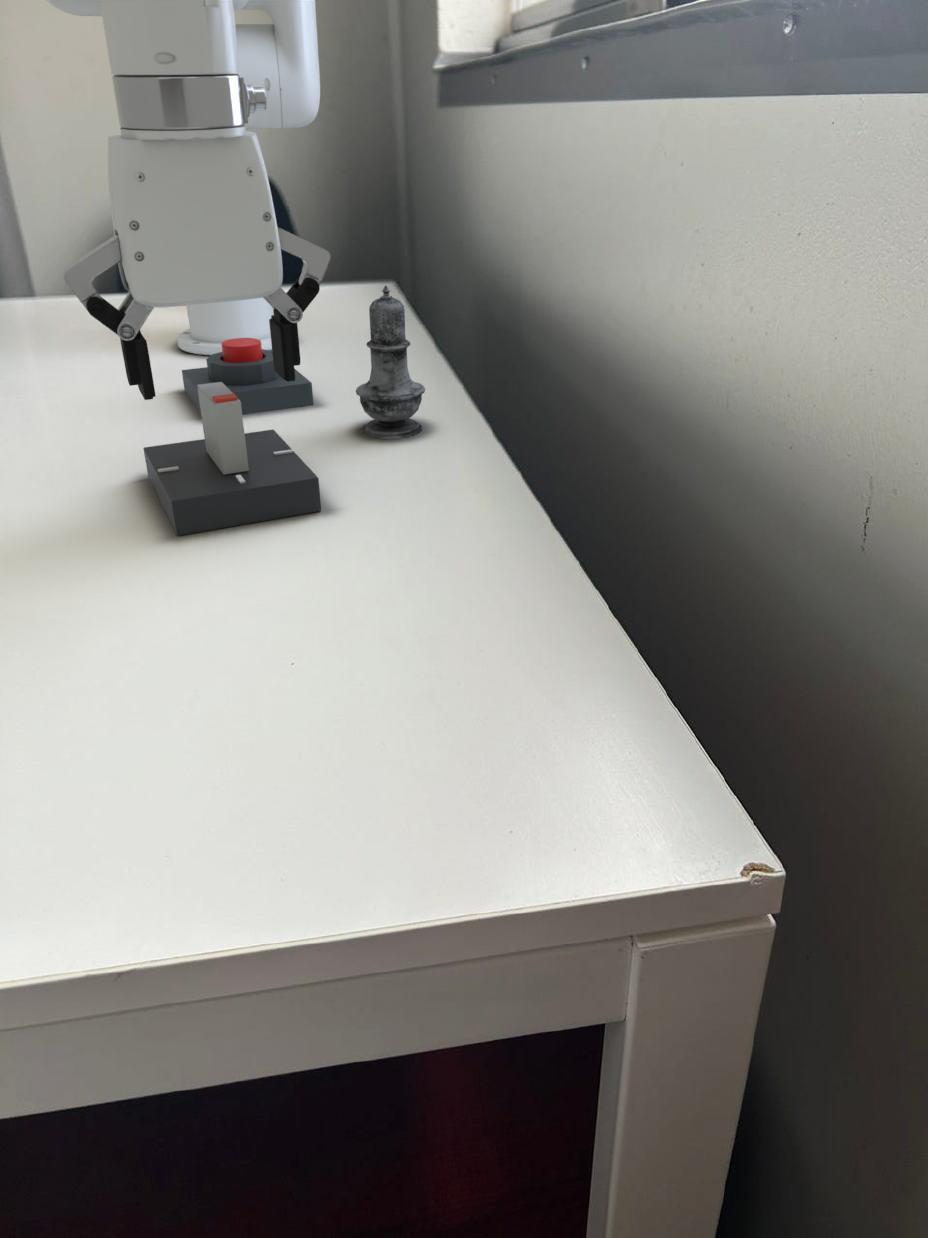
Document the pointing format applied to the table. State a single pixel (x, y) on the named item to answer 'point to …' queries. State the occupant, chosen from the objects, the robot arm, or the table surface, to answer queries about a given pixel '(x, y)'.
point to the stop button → (242, 350)
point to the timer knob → (223, 427)
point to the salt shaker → (389, 374)
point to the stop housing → (251, 384)
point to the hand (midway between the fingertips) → (217, 385)
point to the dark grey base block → (231, 484)
